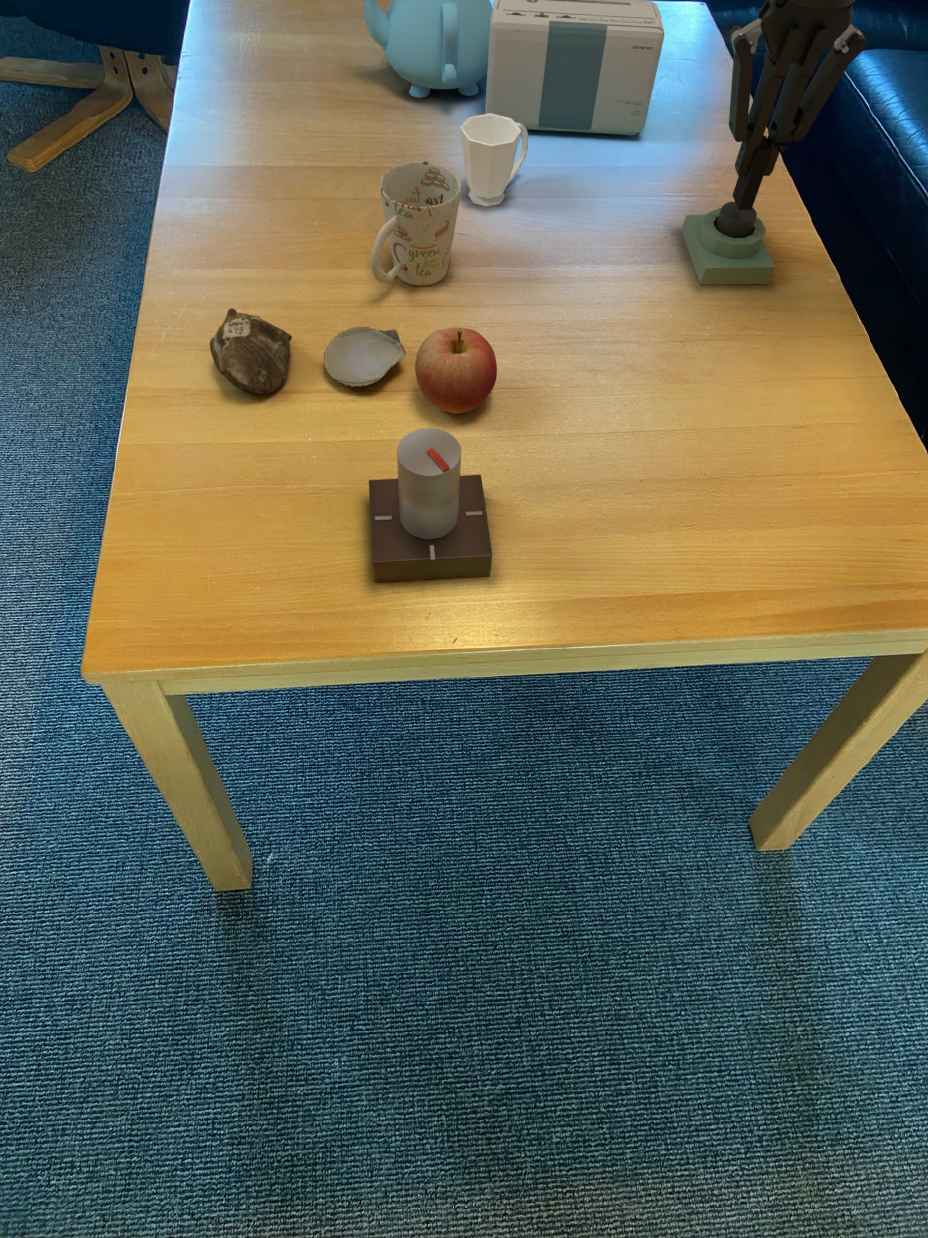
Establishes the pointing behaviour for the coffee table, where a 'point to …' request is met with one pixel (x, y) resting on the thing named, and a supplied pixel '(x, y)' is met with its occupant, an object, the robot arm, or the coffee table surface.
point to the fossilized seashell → (251, 352)
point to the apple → (456, 369)
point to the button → (735, 221)
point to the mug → (417, 222)
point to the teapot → (434, 41)
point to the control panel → (429, 557)
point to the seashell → (362, 355)
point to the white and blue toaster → (574, 63)
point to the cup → (491, 155)
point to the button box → (726, 252)
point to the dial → (429, 482)
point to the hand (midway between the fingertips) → (741, 201)
